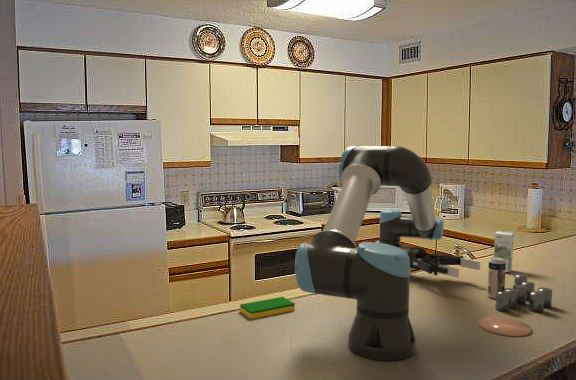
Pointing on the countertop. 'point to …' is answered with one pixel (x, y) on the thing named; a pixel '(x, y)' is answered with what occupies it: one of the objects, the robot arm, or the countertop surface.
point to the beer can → (496, 276)
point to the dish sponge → (267, 307)
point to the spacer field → (523, 296)
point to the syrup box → (504, 247)
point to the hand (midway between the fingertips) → (469, 269)
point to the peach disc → (505, 326)
